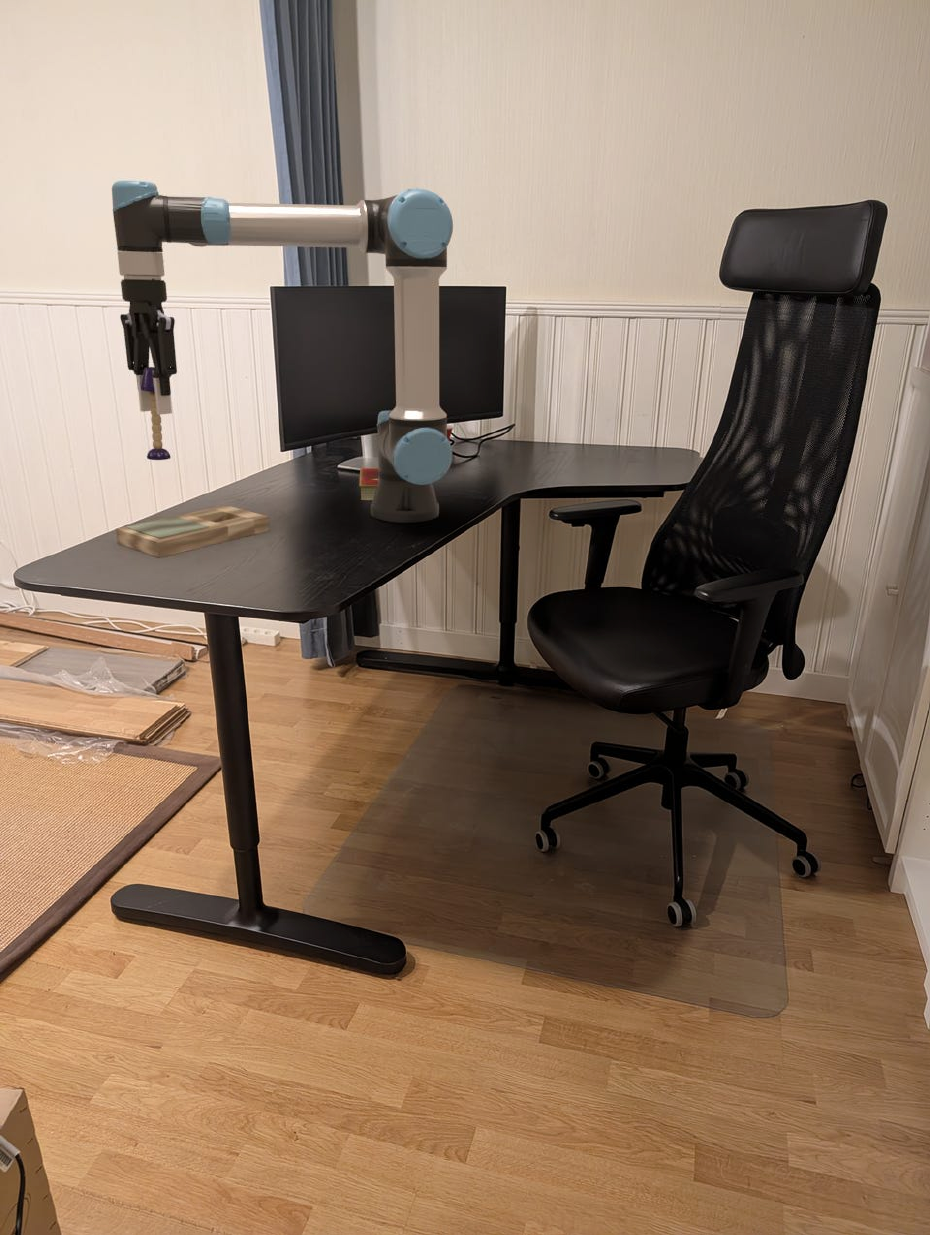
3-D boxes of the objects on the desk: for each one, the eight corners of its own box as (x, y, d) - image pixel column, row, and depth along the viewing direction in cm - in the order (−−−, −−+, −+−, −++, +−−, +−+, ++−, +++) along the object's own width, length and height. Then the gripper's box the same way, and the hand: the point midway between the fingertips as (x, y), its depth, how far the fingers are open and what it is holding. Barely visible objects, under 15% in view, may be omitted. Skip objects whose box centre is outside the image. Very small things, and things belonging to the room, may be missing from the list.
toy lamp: (171, 455, 173) (162, 366, 167) (176, 459, 169) (167, 368, 163) (145, 457, 171) (135, 366, 165) (149, 461, 167) (140, 369, 161)
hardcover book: (407, 483, 233) (407, 466, 232) (410, 502, 214) (410, 484, 212) (360, 483, 232) (360, 466, 230) (359, 502, 212) (359, 484, 211)
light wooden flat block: (269, 530, 186) (268, 515, 184) (159, 557, 167) (157, 540, 165) (227, 518, 194) (225, 503, 193) (117, 543, 175) (115, 527, 174)
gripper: (191, 279, 156) (202, 415, 164) (133, 277, 166) (146, 405, 175) (153, 279, 151) (166, 419, 159) (96, 277, 161) (111, 409, 169)
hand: (156, 411), depth 167 cm, fingers closed on toy lamp, 5 cm apart
